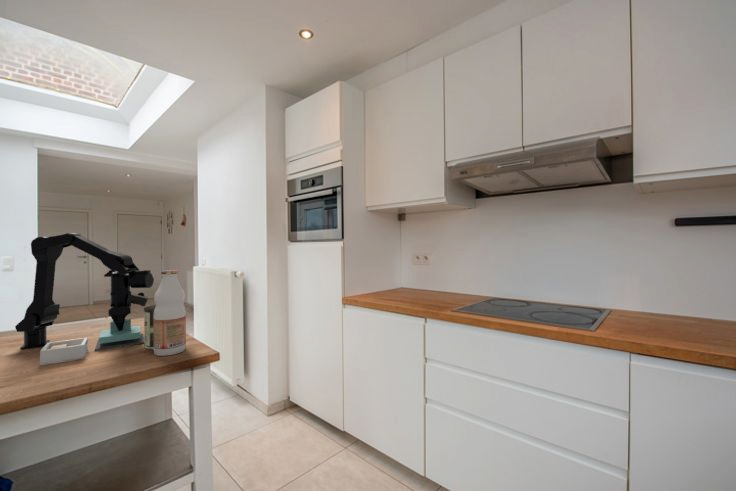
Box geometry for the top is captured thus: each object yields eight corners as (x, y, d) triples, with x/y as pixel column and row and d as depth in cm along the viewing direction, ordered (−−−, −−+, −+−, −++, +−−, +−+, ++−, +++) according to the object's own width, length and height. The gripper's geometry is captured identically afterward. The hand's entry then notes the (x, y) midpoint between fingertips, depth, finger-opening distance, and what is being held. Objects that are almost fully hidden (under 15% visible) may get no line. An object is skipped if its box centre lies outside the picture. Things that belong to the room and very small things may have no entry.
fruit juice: (147, 356, 104) (146, 271, 103) (164, 347, 113) (163, 269, 113) (176, 356, 104) (176, 271, 104) (191, 346, 113) (190, 269, 113)
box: (47, 356, 104) (47, 342, 104) (87, 350, 110) (87, 337, 110) (40, 365, 96) (40, 351, 96) (84, 358, 102) (84, 344, 102)
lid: (101, 335, 120) (101, 319, 120) (140, 330, 127) (139, 315, 127) (98, 343, 110) (98, 326, 110) (140, 338, 117) (140, 321, 117)
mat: (98, 341, 120) (98, 339, 120) (143, 334, 128) (143, 333, 128) (94, 351, 109) (94, 349, 109) (144, 343, 117) (144, 341, 117)
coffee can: (183, 341, 120) (183, 304, 120) (161, 350, 110) (160, 310, 110) (161, 339, 122) (160, 303, 122) (136, 348, 112) (136, 308, 112)
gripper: (147, 289, 116) (147, 331, 116) (146, 284, 131) (146, 321, 131) (108, 292, 109) (108, 337, 109) (111, 286, 124) (111, 325, 124)
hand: (120, 329), depth 119 cm, fingers closed on lid, 2 cm apart
